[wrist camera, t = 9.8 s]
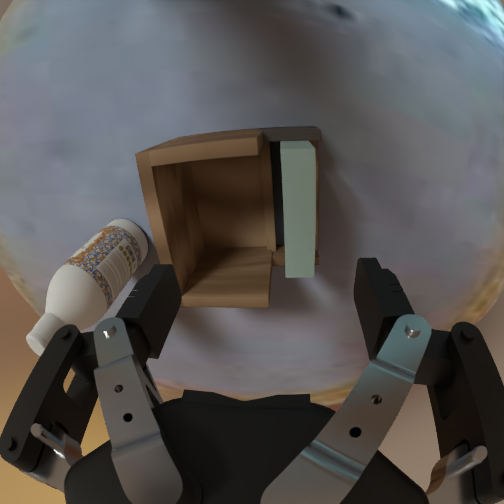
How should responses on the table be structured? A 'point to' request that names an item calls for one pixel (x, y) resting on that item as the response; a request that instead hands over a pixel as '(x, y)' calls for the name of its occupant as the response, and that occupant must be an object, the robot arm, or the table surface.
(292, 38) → the table surface
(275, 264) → the cabinet
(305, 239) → the block
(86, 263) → the bath foam
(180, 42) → the table surface
